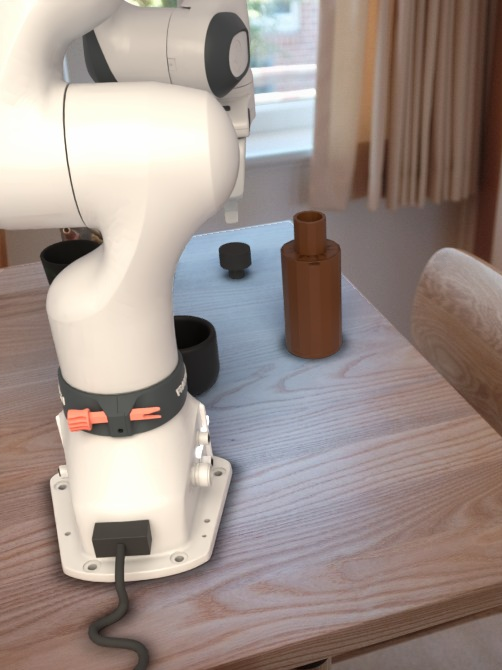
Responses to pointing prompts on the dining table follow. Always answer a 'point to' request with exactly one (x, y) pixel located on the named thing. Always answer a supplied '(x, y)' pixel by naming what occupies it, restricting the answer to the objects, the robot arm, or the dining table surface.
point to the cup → (64, 255)
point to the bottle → (312, 289)
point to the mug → (197, 351)
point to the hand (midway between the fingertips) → (230, 207)
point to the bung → (235, 258)
